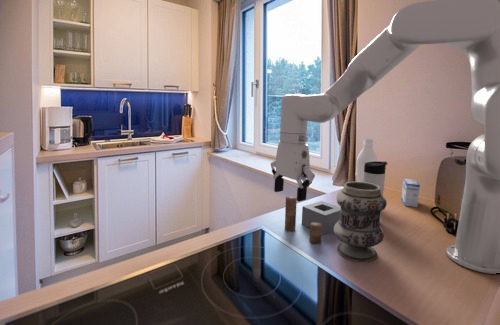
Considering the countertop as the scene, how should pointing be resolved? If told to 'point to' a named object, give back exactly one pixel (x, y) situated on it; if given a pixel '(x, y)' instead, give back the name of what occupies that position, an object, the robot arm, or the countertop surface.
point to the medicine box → (410, 192)
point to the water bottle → (365, 158)
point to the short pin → (315, 233)
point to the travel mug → (375, 174)
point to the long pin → (290, 213)
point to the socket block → (321, 215)
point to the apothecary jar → (359, 220)
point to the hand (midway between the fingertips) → (289, 195)
